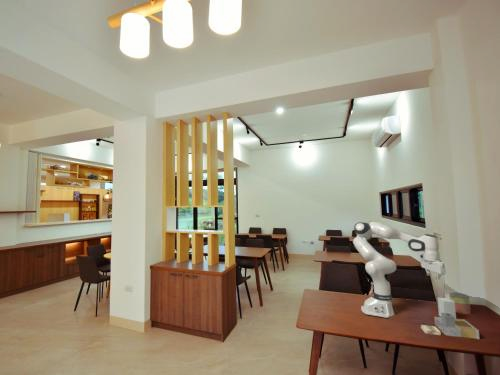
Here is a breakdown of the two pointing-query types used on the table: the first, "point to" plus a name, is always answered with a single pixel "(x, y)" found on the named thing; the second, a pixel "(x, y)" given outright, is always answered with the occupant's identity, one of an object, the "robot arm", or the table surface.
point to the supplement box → (446, 306)
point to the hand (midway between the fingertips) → (433, 277)
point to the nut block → (448, 318)
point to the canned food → (461, 302)
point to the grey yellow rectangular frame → (457, 328)
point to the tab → (430, 330)
